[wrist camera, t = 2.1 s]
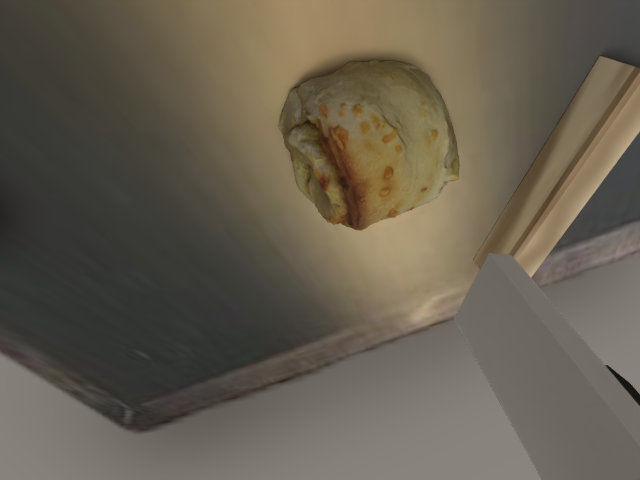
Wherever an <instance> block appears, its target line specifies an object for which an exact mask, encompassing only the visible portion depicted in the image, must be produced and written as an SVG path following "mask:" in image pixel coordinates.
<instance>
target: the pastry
mask: <svg viewBox="0 0 640 480" xmlns="http://www.w3.org/2000/svg"><path fill="white" fill-rule="evenodd" d="M279 129H280V131H281V132H282V134H283V137H284V143H285V146H286V148H287V149H288V150H289V151H290V153H291V160H292V162H293V167H294V173H295V179H296V183H297V186H298V188H299V189H300V191H301V192H302V193H303V194H304V195H305V196H306V197H307V198H308V199H309V200H310V201H311V202H313V203H314V204H315V206H316V208H317V209H318V212H319V213H320V214H321V215H322V216H323V218H324V219H326V221H327V222H329V223H332V224H339V223H341V224H343V225H345V226H347V227H350V228H353V229H355V230H363V229H365V228H367V227H368V226H370V225H371V224H373V223H376V222H378V221H380V220H383V219H387V218H394V217H396V216H397V215H400V214H402V213H404V212H407V211H409V210H412V209H414V208H416V207H418V206H420V205H423V204H426V203H428V202H430V201H432V200H434V199H435V198H436V197H437V196H438V194H439V193H440V192H441V191H442V188H443V187H444V186H445V185H446V184H447V182H448V181H455V180H457V179H459V156H458V153H457V142H456V137H455V134H454V130H453V126H452V122H451V119H450V116H449V113H448V110H447V108H446V105H445V103H444V101H443V99H442V96H441V94H440V93H439V91H438V90H437V89H436V88H435V86H434V85H433V83H432V82H431V79H430V77H429V76H428V75H427V74H426V73H424V72H423V71H422V70H420V69H419V68H417V67H414V66H412V65H410V64H407V63H402V62H399V61H383V62H379V61H378V60H372V61H369V62H351V61H350V62H349V63H348V64H346V65H345V66H344V67H342V68H341V69H339V70H337V71H335V72H334V73H332V74H330V75H327V76H322V77H318V78H312V79H310V80H308V81H306V82H304V83H301V85H300V87H298V88H294V89H293V90H291V92H290V94H289V97H288V99H287V101H286V103H285V105H284V109H283V111H282V115H281V119H280V123H279Z"/></svg>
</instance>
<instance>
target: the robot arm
mask: <svg viewBox="0 0 640 480" xmlns="http://www.w3.org/2000/svg"><path fill="white" fill-rule="evenodd" d="M454 321H455V323H456V324H457V326H458V328H459V330H460V332H461V334H462V335H463V337H464V339H465V341H466V343H467V344H468V346H469V348H470V350H471V352H472V354H473V355H474V357H475V359H476V361H477V362H478V365H479V366H480V368H481V370H482V372H483V373H484V375H485V377H486V379H487V381H488V383H489V384H490V386H491V388H492V390H493V392H494V394H495V396H496V397H497V399H498V401H499V403H500V405H501V406H502V408H503V410H504V412H505V414H506V416H507V417H508V419H509V421H510V423H511V425H512V426H513V428H514V430H515V432H516V434H517V436H518V437H519V439H520V441H521V443H522V445H523V446H524V448H525V450H526V452H527V454H528V456H529V457H530V459H531V461H532V463H533V465H534V466H535V468H536V470H537V472H538V474H539V476H540V477H541V479H542V480H640V394H639V393H638V392H637V391H636V390H635V388H634V387H633V386H632V385H631V384H630V383H629V382H628V381H626V380H625V379H624V378H623V377H621V376H620V375H619V374H618V373H616V372H615V371H614V370H613V369H611V368H610V367H609V366H608V365H604V363H603V362H602V361H601V360H600V359H599V358H598V356H597V355H596V354H595V353H594V352H593V351H592V349H591V348H590V347H589V346H588V345H587V343H586V342H585V341H584V340H583V339H582V338H581V336H580V335H579V334H578V333H577V332H576V331H575V329H574V328H573V327H572V326H571V325H570V323H569V322H568V321H567V320H566V319H565V318H564V316H563V315H562V314H561V313H560V312H559V311H558V309H557V308H556V307H555V306H554V305H553V304H552V302H551V301H550V300H549V299H548V298H547V297H546V295H545V294H544V293H543V292H542V290H541V289H540V288H539V287H538V286H537V285H536V283H535V282H534V281H533V280H532V279H531V278H530V276H529V275H528V274H527V273H526V272H525V270H524V269H523V268H522V267H521V266H520V265H519V263H518V262H517V261H516V260H515V259H514V257H513V256H512V255H504V254H491V253H489V254H488V256H487V258H486V260H485V262H484V263H483V265H482V267H481V269H480V271H479V273H478V275H477V276H476V278H475V280H474V282H473V284H472V286H471V288H470V289H469V291H468V293H467V295H466V297H465V299H464V300H463V302H462V304H461V306H460V308H459V310H458V312H457V313H456V315H455V317H454Z"/></svg>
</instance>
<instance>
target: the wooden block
mask: <svg viewBox="0 0 640 480" xmlns="http://www.w3.org/2000/svg"><path fill="white" fill-rule="evenodd" d="M639 131H640V68H637V67H634V66H631V65H628V64H625V63H621V62H618V61H615V60H612V59H609V58H606V57H603V56H599V58H598V59H597V61H596V63H595V64H594V66H593V67H592V69H591V71H590V72H589V74H588V76H587V77H586V79H585V80H584V82H583V84H582V85H581V87H580V88H579V90H578V92H577V93H576V95H575V97H574V98H573V100H572V101H571V103H570V105H569V106H568V108H567V109H566V111H565V113H564V114H563V116H562V117H561V119H560V121H559V122H558V124H557V126H556V127H555V129H554V130H553V132H552V134H551V135H550V137H549V138H548V140H547V142H546V143H545V145H544V147H543V148H542V150H541V151H540V153H539V155H538V156H537V158H536V159H535V161H534V163H533V164H532V166H531V167H530V169H529V171H528V172H527V174H526V176H525V177H524V179H523V180H522V182H521V184H520V185H519V187H518V188H517V190H516V192H515V193H514V195H513V197H512V198H511V200H510V201H509V203H508V205H507V206H506V208H505V209H504V211H503V213H502V214H501V216H500V218H499V219H498V221H497V222H496V224H495V226H494V227H493V229H492V230H491V232H490V234H489V235H488V237H487V238H486V240H485V242H484V243H483V245H482V247H481V248H480V250H479V251H478V253H477V255H476V256H475V258H474V259H473V260H474V261H475V262H476V264H477V265H478V267H479V268H480V269H481V267H482V265H483V263H484V262H485V260H486V258H487V256H488V254H489V253H491V254H504V255H512V256H513V257H514V259H515V260H516V261H517V262H518V263H519V265H520V266H521V267H522V268H523V269H524V270H525V272H526V273H527V274H528V275H529V276H530V278H531V277H532V275H533V274H534V273H535V271H536V270H537V269H538V267H539V266H540V265H541V263H542V262H543V261H544V259H545V258H546V257H547V255H548V254H549V253H550V251H551V250H552V248H553V247H554V246H555V244H556V243H557V242H558V240H559V239H560V238H561V236H562V235H563V234H564V232H565V231H566V230H567V228H568V227H569V226H570V224H571V223H572V222H573V220H574V219H575V217H576V216H577V215H578V213H579V212H580V211H581V209H582V208H583V207H584V205H585V204H586V203H587V201H588V200H589V199H590V197H591V196H592V195H593V193H594V192H595V191H596V189H597V188H598V187H599V185H600V184H601V182H602V181H603V180H604V178H605V177H606V176H607V174H608V173H609V172H610V170H611V169H612V168H613V166H614V165H615V164H616V162H617V161H618V160H619V158H620V157H621V156H622V154H623V153H624V151H625V150H626V149H627V147H628V146H629V145H630V143H631V142H632V141H633V139H634V138H635V137H636V135H637V134H638V133H639Z"/></svg>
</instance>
